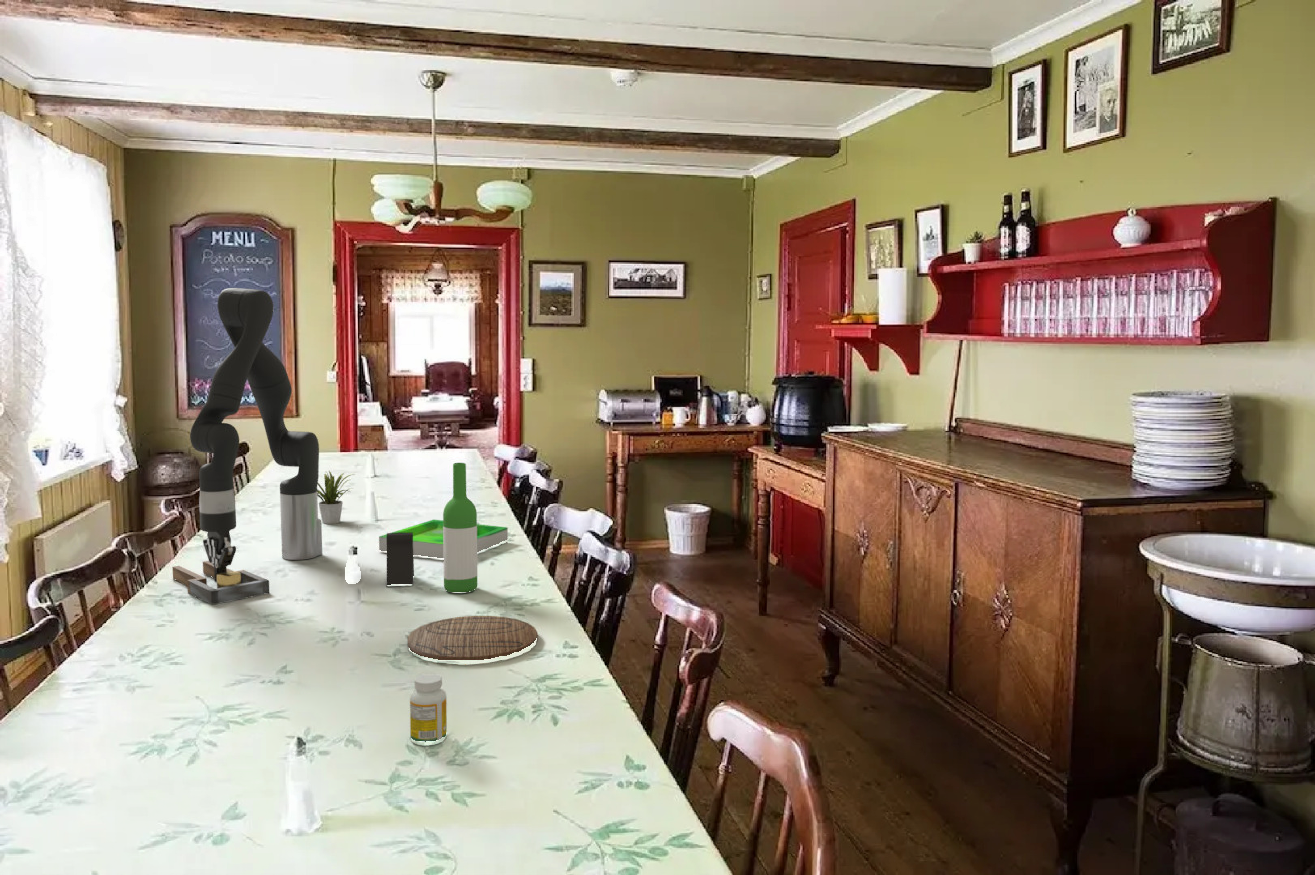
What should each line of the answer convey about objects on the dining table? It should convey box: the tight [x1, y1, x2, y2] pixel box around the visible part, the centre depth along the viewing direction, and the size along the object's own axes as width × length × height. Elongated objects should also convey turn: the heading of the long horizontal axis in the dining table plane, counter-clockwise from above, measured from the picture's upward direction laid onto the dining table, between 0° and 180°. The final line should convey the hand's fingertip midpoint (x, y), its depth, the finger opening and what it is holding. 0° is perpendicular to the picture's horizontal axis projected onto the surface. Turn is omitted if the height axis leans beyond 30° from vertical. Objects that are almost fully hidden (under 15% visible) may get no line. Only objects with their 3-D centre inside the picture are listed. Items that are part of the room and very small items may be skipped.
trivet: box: [407, 615, 538, 660], centre depth 188 cm, size 25×25×2 cm
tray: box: [378, 519, 509, 558], centre depth 265 cm, size 25×25×5 cm
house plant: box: [317, 470, 356, 525], centre depth 295 cm, size 14×14×16 cm
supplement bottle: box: [409, 673, 448, 742], centre depth 144 cm, size 5×5×10 cm
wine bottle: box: [442, 462, 478, 593], centre depth 222 cm, size 8×8×30 cm
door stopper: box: [386, 532, 415, 586], centre depth 230 cm, size 9×6×12 cm, turn 11°
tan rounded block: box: [216, 570, 241, 589], centre depth 218 cm, size 5×5×4 cm
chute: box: [171, 560, 270, 606], centre depth 224 cm, size 13×28×3 cm, turn 47°
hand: (220, 582), depth 222 cm, fingers closed
